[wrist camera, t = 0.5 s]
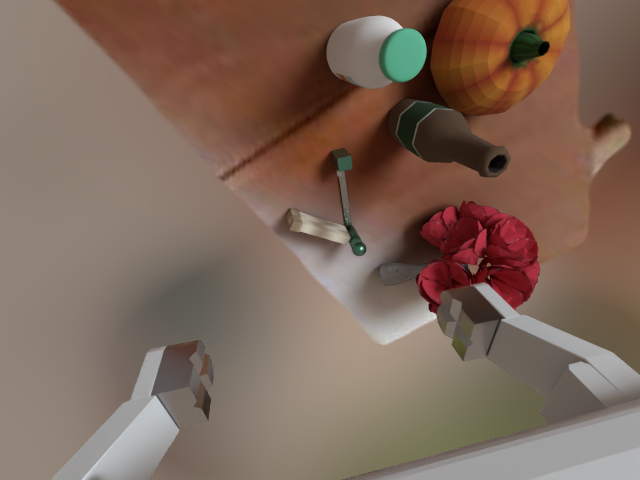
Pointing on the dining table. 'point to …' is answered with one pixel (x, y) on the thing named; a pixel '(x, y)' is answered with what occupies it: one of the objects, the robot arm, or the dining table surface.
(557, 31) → the pumpkin
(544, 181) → the dining table surface
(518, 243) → the bouquet
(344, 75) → the milk bottle
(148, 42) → the dining table surface
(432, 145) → the beer bottle
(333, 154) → the dark green brushed box
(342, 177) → the grey metal rod
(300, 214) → the grey rectangular bar
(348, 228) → the hinge post
